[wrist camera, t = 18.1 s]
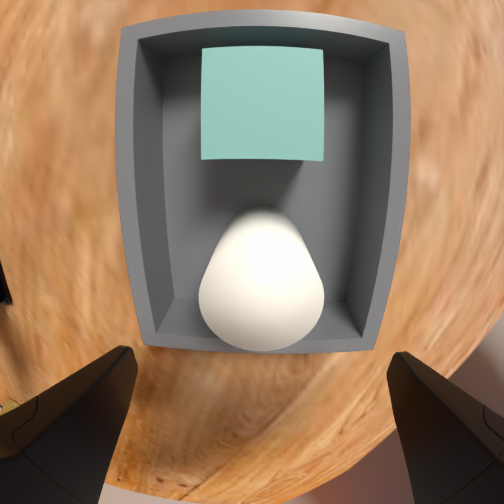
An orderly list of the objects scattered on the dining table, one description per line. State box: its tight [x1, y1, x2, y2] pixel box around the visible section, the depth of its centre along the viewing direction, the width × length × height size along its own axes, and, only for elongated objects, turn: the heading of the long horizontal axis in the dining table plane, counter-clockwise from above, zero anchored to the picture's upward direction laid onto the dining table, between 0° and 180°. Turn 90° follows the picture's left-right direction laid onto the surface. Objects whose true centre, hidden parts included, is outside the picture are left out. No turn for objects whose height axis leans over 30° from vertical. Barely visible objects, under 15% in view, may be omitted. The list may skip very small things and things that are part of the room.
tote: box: [115, 10, 411, 354], centre depth 15 cm, size 18×14×5 cm
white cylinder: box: [199, 205, 324, 352], centre depth 14 cm, size 5×5×7 cm
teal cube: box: [201, 46, 324, 161], centre depth 12 cm, size 5×5×5 cm
